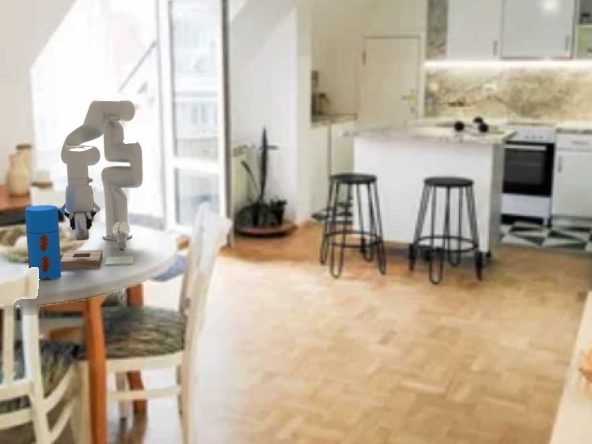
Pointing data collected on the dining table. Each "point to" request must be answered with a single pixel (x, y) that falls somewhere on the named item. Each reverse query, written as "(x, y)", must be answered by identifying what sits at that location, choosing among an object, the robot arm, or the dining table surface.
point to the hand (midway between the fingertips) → (81, 228)
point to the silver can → (81, 226)
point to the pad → (119, 260)
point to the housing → (81, 259)
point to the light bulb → (121, 233)
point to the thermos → (43, 240)
